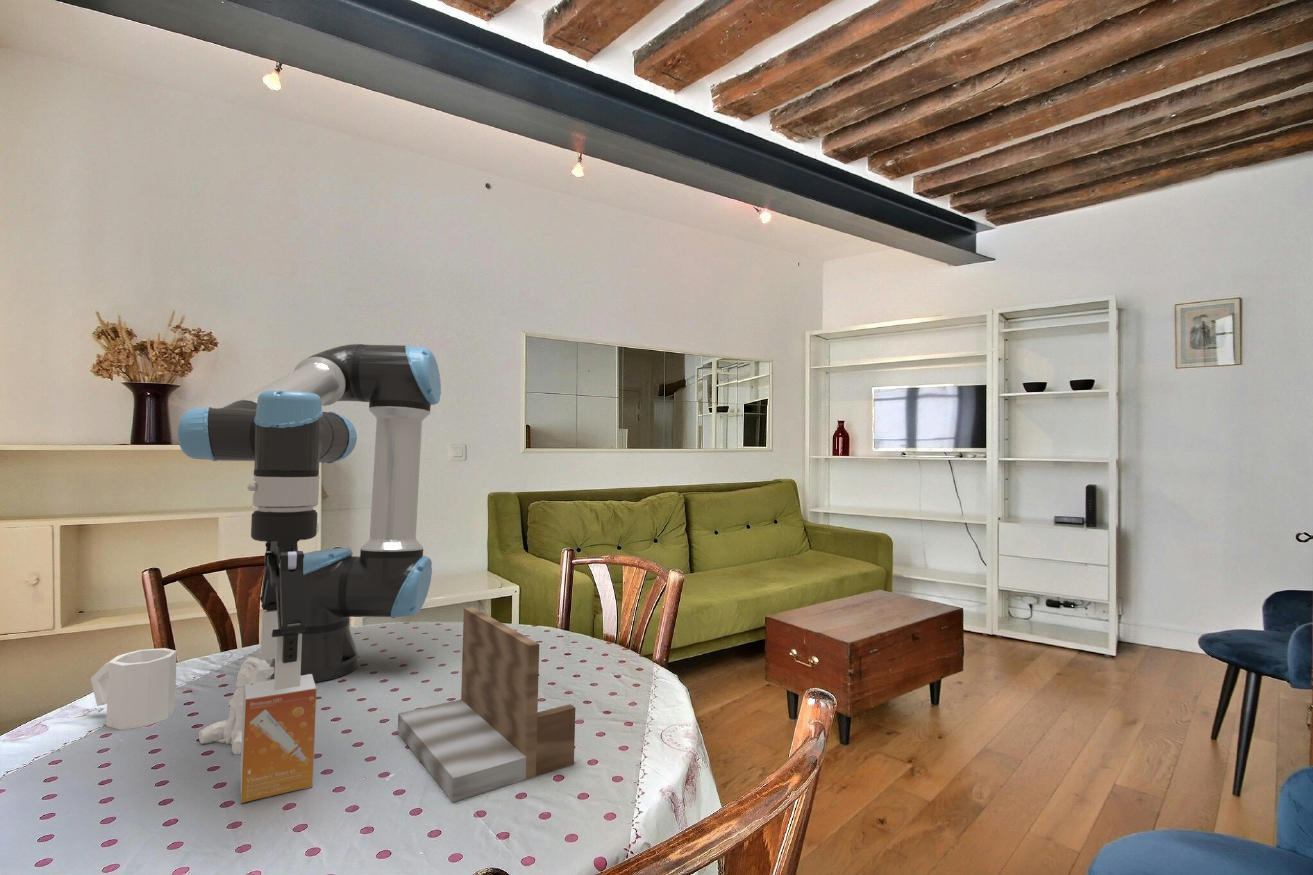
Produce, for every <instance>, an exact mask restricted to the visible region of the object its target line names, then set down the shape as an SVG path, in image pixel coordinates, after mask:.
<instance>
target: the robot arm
mask: <svg viewBox="0 0 1313 875" xmlns="http://www.w3.org/2000/svg"><path fill="white" fill-rule="evenodd" d="M441 392H442V386H441V376H440V370H439V366H438V362H437V360H436V356H435V354H433V352H432V351H431V350H430V349H428V348H426V347H423V346H422V347H421V346H414V345H413V346H412V345H409V344H406V345H395V344H393V345H392V344H391V345H390V344H387V345H386V344H362V343H353V344H345V345H340V346H336V347H332V348H329V349H326V350H322V351H320V352H318V353H315V354H313V355H310V356H308V357H305V359H303V360H301V361H300V362H298V363H297V365H296V366H295V367H294V370H293V371H292V372H290V373H288V374H286V375H284V376H281V377H280V378H278V379H276V380H274V381H272V382H270V383H269V384H267V385H265V386H263V387H260V388H259V389H258V390H255V391H253V392H250V393H249V394H247V395H246V396H243V397H242V398H239V399H238V400H236V401H234V402H232V403H230V404H228V405H225V406H223V407H215V408H214V407H211V406H210V407H209V406H206V407H200V408H197V407H196V408H191V409H189V410H187V411H186V412H184V414H183V415H182V416H181V417H180V418H181V419H180V421H179V423H178V426H177V438H178V445H179V447H180V449H181V451H182V452H183V454H185V455H186V456H187V457H189V458H191V459H195V460H204V461H205V460H206V461H207V460H209V461H212V462H217V461H222V462H224V461H227V462H228V461H229V462H230V461H234V462H236V461H238V462H254V466H253V467H254V468H253V481H254V482H253V483H248V485H247V490H248V491H250V492H253V494H252V505H253V506H254V507H255V508H257V510H254V511H253V513H251V520H250V521H251V525H250V526H251V527H250V537H251V539H252V540H254V541H258V542H263V543H264V542H265V553H264V557H263V560H264V567H263V577H262V587H261V596H260V598H259V601H260V603H261V608H262V612H261V614H262V615H261V629H260V630H261V632H260V633H261V634H260V636H261V637H260V639H261V640H260V654H259V655H260V657H259V659H261V660H266V661H267V660H271V662H270V667H274V673H273V674H272V675H271V677H270V679H271V680H272V679H274V690H280V689H286V688H292V687H297V686H300V676H302V675H307V674H312V675H313V679H314V682H315V683H319V682H324V681H328V680H332V679H333V680H334V679H336V678H341V677H343V676H345V675H348V674H350V673H352V672H353V671H355V670H356V668H357V667H358V665H359V664H358V661H359V659H358V658H359V654H358V651H357V647H356V644H355V642H354V638H353V635H352V632H351V630H350V618H353V617H354V618H366V617H367V618H379V617H380V618H381V617H382V618H391V619H395V618H401V617H402V618H403V617H404V618H406V617H413V616H415V615H416V614H418V613H419V612H420V611H421V609H422V607H424V605H425V601H426V599H427V596H428V593H429V590H430V586H431V581H432V574H433V567H432V565H433V563H432V558H430V557H428V556H426V555H424V546H423V545H422V543H420V542H419V541H418V540H417V524H418V523H417V521H418V519H417V518H418V504H419V486H420V482H419V481H420V479H419V478H420V469H421V468H420V465H421V462H420V461H421V449H422V448H421V444H422V429H423V428H422V427H423V426H422V425H423V421H424V420H425V419H426V418H428V416H430V415H431V406H435V405H437V404H439V403H440V401H441V394H442V393H441ZM337 402H359V403H360V402H362V403H368V405H369V406H368V410H369V412H370V413H371V414H372V415H373V416H374V417H375V419H376V424H375V440H374V442H375V444H374V457H373V458H374V460H373V476H372V477H373V478H372V490H371V491H372V492H371V493H372V494H371V510H370V511H371V512H370V528H369V539H368V541H366V543H365V544H363V545H362V546H361V547H360V549H359V550H360V552H359V553H360V554H359V556H356V555H355V556H354V555H353V552H352V549H351V548H349V547H334V548H328V549H327V548H326V549H320V550H314V551H309V552H305V553H304V551H303V550H299V549H298V547H299V546H298V542H299V541H307V540H311V539H313V538H315V537H316V536H317V534H318V512H317V511H316V510H317V509H314V507H317V506H318V505H319V497H320V496H319V490H320V488H319V487H320V464H321V463H322V464H325V463H327V464H333V463H334V462H335V463H336V462H339V461H342V460H345V459H346V458H348V456H349V455H351V453H352V452H353V451H354V449H355V447H356V444H357V441H358V440H357V439H358V437H357V431H356V428H355V426H354V424H353V423H352V422H351V421H350V420H349V419H348V418H347V417H345V416H343V415H341V414H339V413H336V412H334V411H323V408H322V407H325V406H330V405H334V404H335V403H337Z"/></svg>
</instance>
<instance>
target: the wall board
mask: <svg viewBox="0 0 1313 875" xmlns="http://www.w3.org/2000/svg"><path fill="white" fill-rule="evenodd" d="M462 624H463V625H462V654H461V655H462V659H461V661H462V662H461V691H460V692H461V696H460V697H461V698H460V699H457V700H452V701H447V702H444V703H438V704H435V705H434V704H433V705H430V706H426V707H421V708H416V709H412V710H407V711H404V712H399V713H398V715H397V734H398V735H399V737H400V738H401V740H403V742H404V743H405V744H406V745H407V746H408V748H409V749H410V750H411V751H412V753H413V754H414V756H416V758H417V759H418V761H420V763H421V764H422V765H423V767H424V768H425V769H426V771H427V772H428V773H429V774H430V775H431V776H432V778H433V779H434V780H435V782H436V783H437V785H439V787H440V788H441V790H442V791H443V792H444V793H445V795H446V796H447V797H448V798H449V799H450V800H451V802H452V803H455V802H459V801H461V800H465V799H468V798H472V797H475V796H478V795H481V794H484V793H487V792H490V791H494V790H496V789H499V788H503V787H506V786H509V785H513V784H516V783H519V782H522V781H525V780H528V779H532V778H534V777H539V776H540V775H541V776H542V775H543V774H547V773H550V772H553V771H557V770H559V769H564V768H566V767H569V766H573V765H574V764H575V744H576V741H575V740H576V739H575V738H576V733H575V732H576V706H574V705H573V704H570V703H569V704H566V705H562V706H558V707H554V708H553V707H552V708H550V709H546V710H541V711H538V710H539V709H538V707H539V706H538V705H539V704H538V703H539V676H540V675H539V674H540V673H539V668H540V664H539V663H540V643H539V642H537V641H534V640H533V639H531V638H529V637H528V636H526V635H524V634H522V633H520V632H519V631H517V630H515V629H513V628H512V627H509V626H508V625H506V624H504V623H502V622H500V621H498V620H496V619H495V618H493V617H492V616H490V615H488V614H486V613H485V612H483V611H481V610H479V609H478V608H475V607H473V606H469V607H464V608H463V623H462Z"/></svg>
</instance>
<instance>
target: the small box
mask: <svg viewBox="0 0 1313 875" xmlns="http://www.w3.org/2000/svg"><path fill="white" fill-rule="evenodd" d="M316 710H317V686H316V682H314V679H313V675H312V674H307V675H302V676H300V686H297V687H292V688H286V689H280V690H274V679H272V678H271V679H267V680H266V681H262V682H255V683H248V684H244V692H243V716H242V738H241V754H240V770H239V771H240V772H239V777H240V779H239V781H240V782H239V784H240V786H239V787H240V803H241V804H244V803H248V802H251V801H256V800H259V799H260V800H261V799H265V798H268V797H272V796H277V795H281V794H287V793H289V792H295V791H299V790H305V789H310V788H312V787H313V783H314V782H313V781H314V762H315V737H316V717H317V714H316V713H317V711H316Z"/></svg>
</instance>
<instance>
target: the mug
mask: <svg viewBox="0 0 1313 875" xmlns="http://www.w3.org/2000/svg"><path fill="white" fill-rule="evenodd" d="M177 654H178V650H174V649H170V648H166V647H161V648H149V649H148V648H147V649H146V648H145V649H137V650H134V651H130V652H126V653H123V654H119V655H117V656H115V657H114V658H112V659H111V660H109V662H106V663H104V664H103V665H102V666H101V667H100V668H99V669H98V670H97V672H95V674H93V676H92V677H91V678H90V681H91V686H92V690H93V695H94V698H95V703H96V706H104V705H106V727H109V728H112V729H116V730H119V731H122V730H129V729H137V728H144V727H149V726H152V725H154V724H157V723H159V722H162V721H164V720H167V719H169V718H170V717H171V715H172V714H173V713H174V712H175V711H176V709H175V708H176V687H177V686H176V685H177V684H176V683H177Z"/></svg>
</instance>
